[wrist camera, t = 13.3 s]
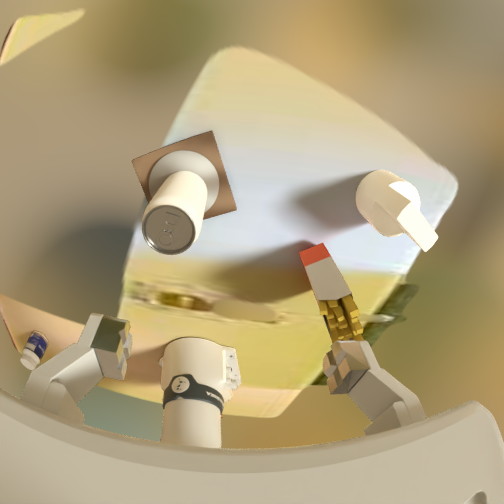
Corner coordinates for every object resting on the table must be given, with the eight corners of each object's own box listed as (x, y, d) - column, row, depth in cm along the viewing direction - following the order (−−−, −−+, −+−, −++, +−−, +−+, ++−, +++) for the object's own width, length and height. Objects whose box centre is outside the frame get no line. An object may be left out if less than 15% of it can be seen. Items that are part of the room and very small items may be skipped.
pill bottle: (51, 347, 55) (38, 374, 47) (35, 340, 54) (22, 367, 45) (46, 333, 52) (32, 362, 44) (30, 327, 51) (15, 354, 43)
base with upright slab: (408, 192, 41) (451, 222, 30) (377, 229, 44) (412, 268, 34) (379, 158, 37) (424, 182, 27) (344, 200, 41) (379, 235, 31)
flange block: (236, 207, 40) (236, 211, 39) (163, 229, 41) (160, 234, 40) (212, 130, 34) (211, 131, 33) (133, 159, 35) (130, 161, 33)
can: (157, 205, 37) (132, 247, 27) (170, 163, 34) (145, 192, 24) (199, 219, 39) (189, 265, 29) (214, 178, 36) (208, 213, 26)
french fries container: (310, 291, 50) (339, 369, 34) (293, 245, 44) (324, 326, 29) (333, 282, 49) (369, 357, 34) (318, 234, 44) (361, 310, 28)
